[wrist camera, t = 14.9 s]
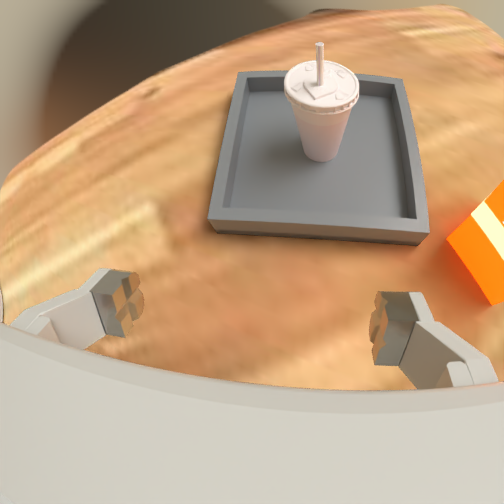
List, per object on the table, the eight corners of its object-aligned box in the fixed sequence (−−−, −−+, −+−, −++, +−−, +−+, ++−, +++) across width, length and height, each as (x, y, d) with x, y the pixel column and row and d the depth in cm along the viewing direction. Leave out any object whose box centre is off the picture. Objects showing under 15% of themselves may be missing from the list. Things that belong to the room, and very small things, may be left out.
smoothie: (282, 164, 32) (265, 57, 19) (300, 120, 34) (291, 16, 21) (343, 180, 30) (358, 73, 17) (355, 133, 32) (369, 29, 19)
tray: (217, 233, 32) (207, 219, 29) (243, 91, 38) (238, 72, 35) (417, 245, 28) (429, 232, 25) (397, 98, 34) (402, 79, 31)
